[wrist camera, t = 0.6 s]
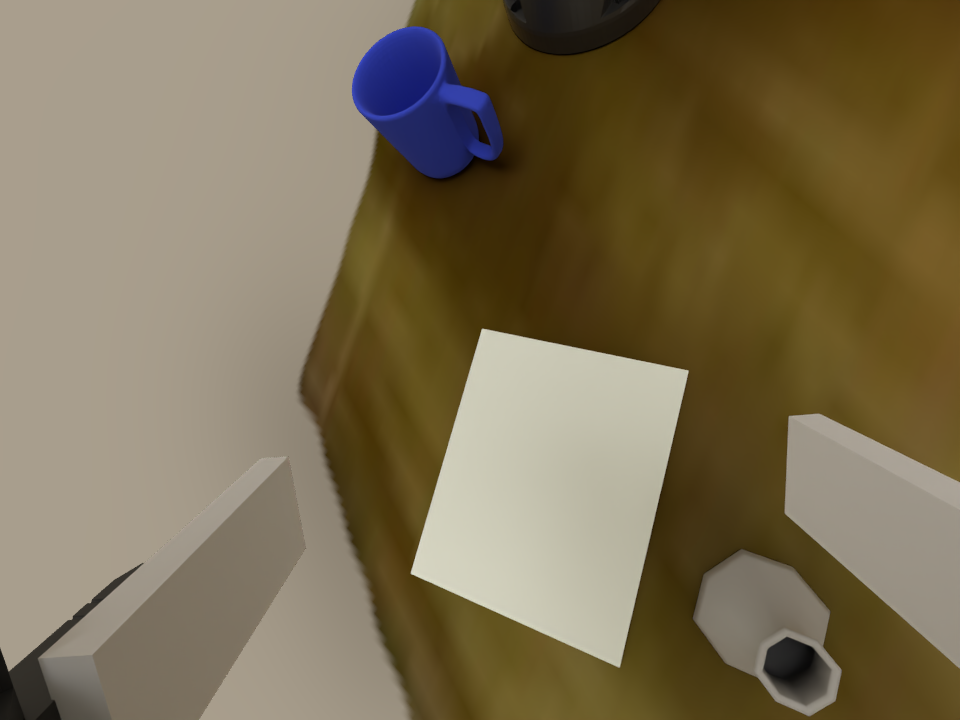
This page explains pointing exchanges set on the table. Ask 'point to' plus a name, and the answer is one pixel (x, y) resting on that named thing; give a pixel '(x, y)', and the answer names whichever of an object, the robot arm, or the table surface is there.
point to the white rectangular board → (552, 487)
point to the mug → (424, 103)
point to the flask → (769, 629)
